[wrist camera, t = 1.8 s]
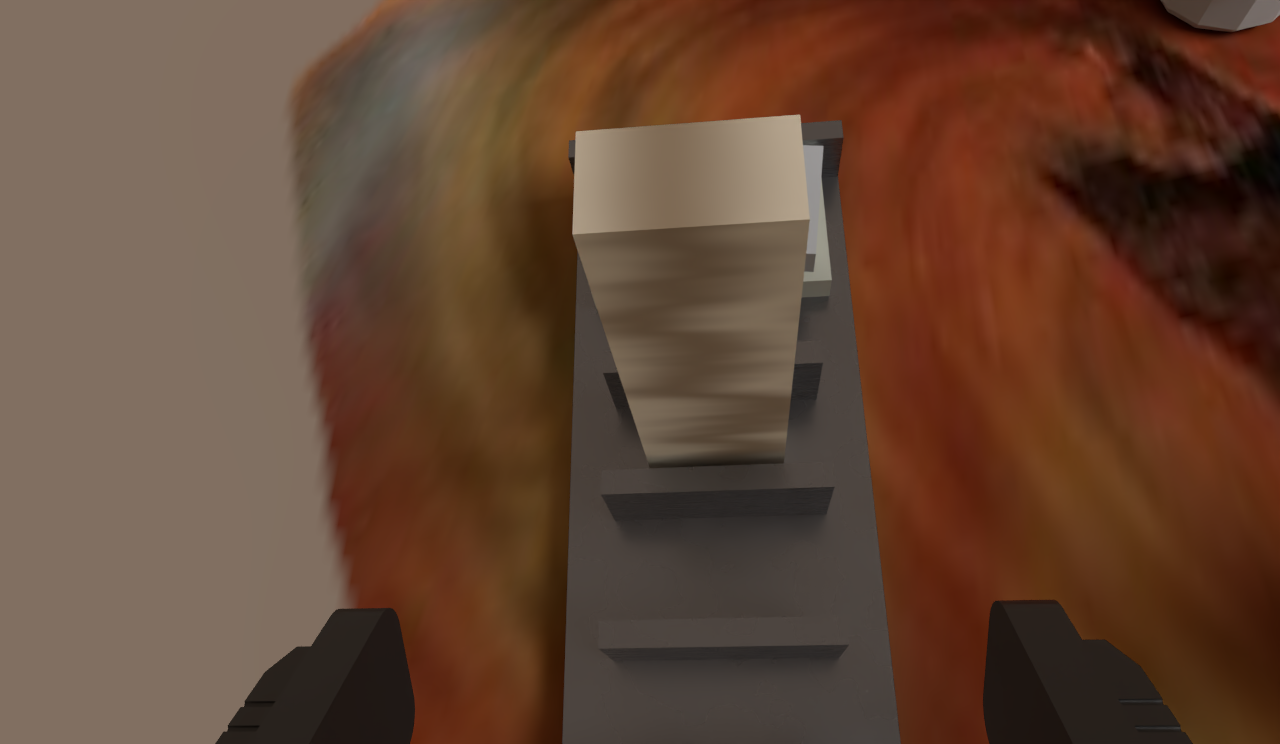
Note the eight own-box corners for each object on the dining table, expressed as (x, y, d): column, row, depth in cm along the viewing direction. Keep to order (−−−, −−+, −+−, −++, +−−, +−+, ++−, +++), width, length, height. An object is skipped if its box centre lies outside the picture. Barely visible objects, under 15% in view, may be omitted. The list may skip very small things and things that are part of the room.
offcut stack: (816, 172, 45) (823, 112, 41) (829, 303, 42) (838, 252, 38) (591, 188, 46) (575, 131, 42) (588, 316, 43) (571, 268, 39)
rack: (833, 177, 46) (843, 106, 41) (907, 858, 34) (934, 873, 29) (584, 194, 48) (565, 127, 43) (566, 856, 35) (535, 870, 30)
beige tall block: (777, 414, 40) (800, 114, 22) (782, 479, 39) (809, 219, 20) (654, 419, 40) (575, 131, 22) (654, 483, 39) (572, 234, 21)
